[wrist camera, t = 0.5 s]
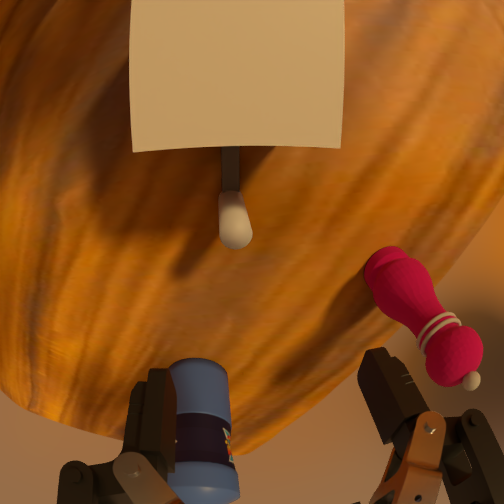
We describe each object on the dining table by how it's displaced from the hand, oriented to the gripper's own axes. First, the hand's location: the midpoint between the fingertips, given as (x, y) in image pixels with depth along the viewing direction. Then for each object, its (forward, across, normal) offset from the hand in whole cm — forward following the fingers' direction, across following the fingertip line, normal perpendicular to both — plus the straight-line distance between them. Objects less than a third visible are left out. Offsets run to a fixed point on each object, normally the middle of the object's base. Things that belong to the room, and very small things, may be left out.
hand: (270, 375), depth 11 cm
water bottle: (+21, +6, +26) cm, 34 cm away
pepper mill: (+21, -18, +9) cm, 29 cm away
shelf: (+21, 0, -13) cm, 25 cm away
